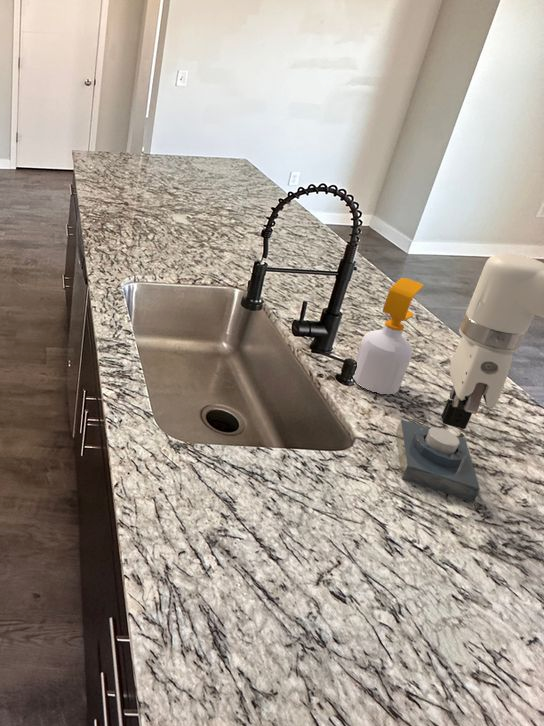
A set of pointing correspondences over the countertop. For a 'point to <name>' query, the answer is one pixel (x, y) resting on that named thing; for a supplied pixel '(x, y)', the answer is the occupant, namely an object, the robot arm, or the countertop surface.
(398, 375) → the soap bottle
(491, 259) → the robot arm
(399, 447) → the push button base
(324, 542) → the countertop surface
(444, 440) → the flush button
